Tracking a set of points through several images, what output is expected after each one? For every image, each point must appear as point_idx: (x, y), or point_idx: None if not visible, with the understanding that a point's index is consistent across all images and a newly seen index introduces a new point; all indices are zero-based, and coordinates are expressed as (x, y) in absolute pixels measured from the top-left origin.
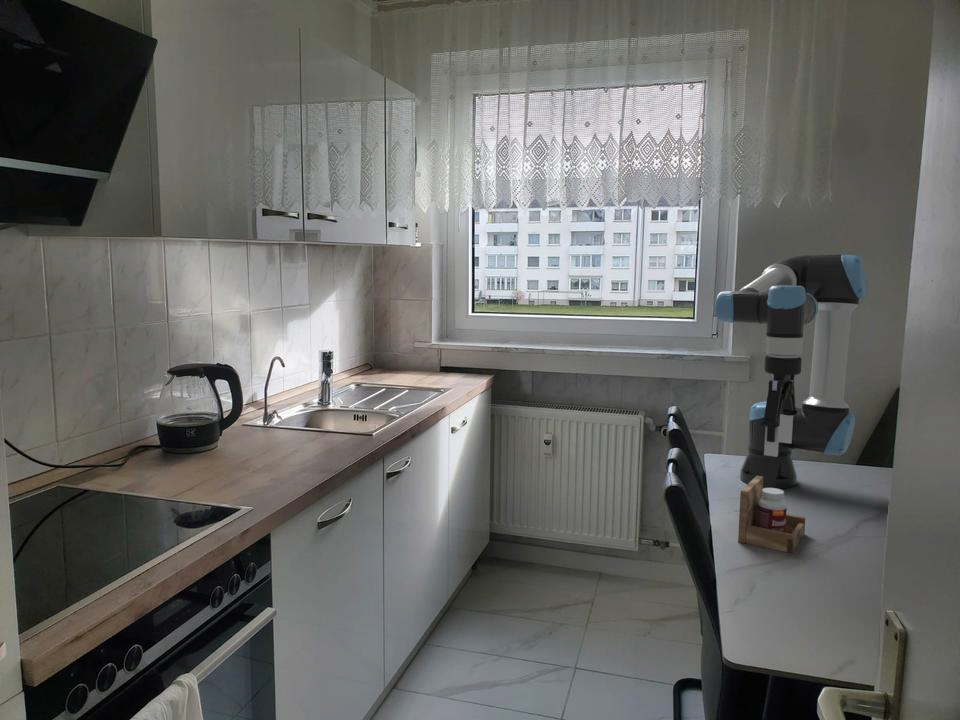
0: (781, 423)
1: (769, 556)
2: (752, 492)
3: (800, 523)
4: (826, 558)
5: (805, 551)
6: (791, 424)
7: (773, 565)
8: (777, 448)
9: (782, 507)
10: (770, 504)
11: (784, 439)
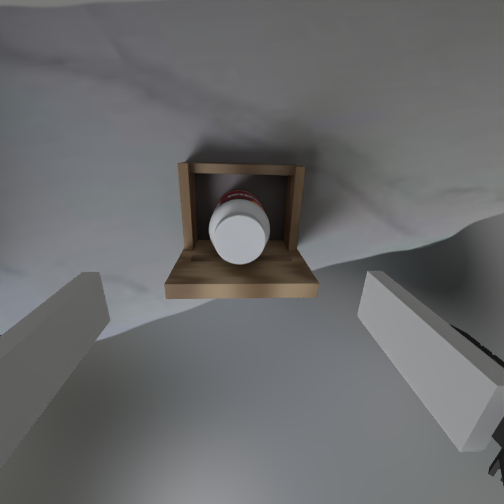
0: (44, 397)
1: (328, 195)
2: (270, 276)
3: (197, 169)
4: (290, 101)
5: (275, 144)
6: (20, 345)
7: (363, 181)
8: (404, 290)
9: (256, 205)
10: (267, 230)
11: (96, 308)
